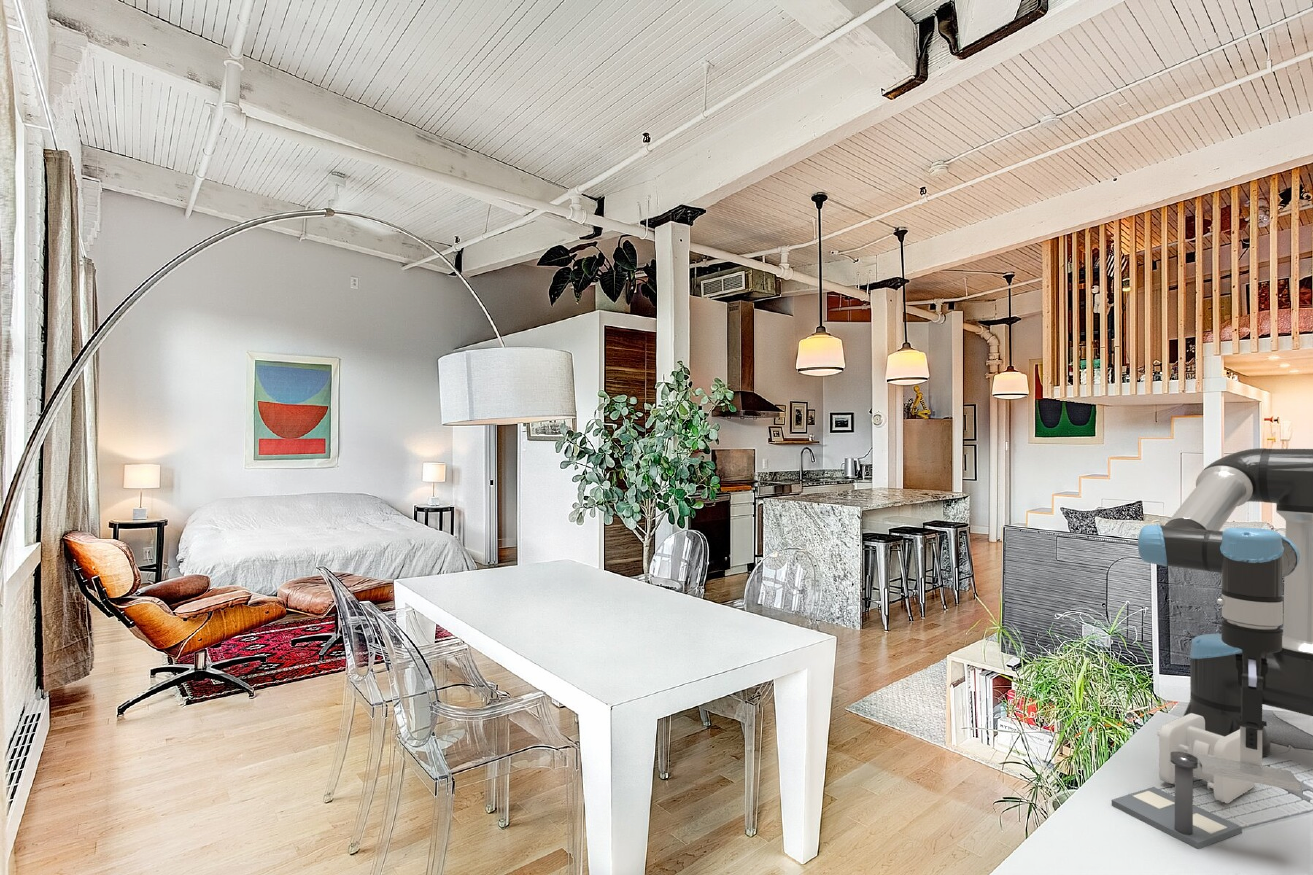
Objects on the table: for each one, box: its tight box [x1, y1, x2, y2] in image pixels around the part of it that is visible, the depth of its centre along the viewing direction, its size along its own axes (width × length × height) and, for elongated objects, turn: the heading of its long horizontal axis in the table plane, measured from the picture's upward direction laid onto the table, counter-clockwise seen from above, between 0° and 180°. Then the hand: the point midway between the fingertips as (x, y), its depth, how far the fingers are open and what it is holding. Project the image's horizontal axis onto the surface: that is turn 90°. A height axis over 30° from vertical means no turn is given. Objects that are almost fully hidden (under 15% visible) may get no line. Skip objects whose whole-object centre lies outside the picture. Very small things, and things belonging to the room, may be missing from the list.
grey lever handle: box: [1170, 751, 1302, 792], centre depth 110 cm, size 16×5×1 cm, turn 61°
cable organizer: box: [1157, 713, 1256, 804], centre depth 129 cm, size 15×11×12 cm
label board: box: [1111, 765, 1243, 850], centre depth 118 cm, size 12×14×12 cm
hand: (1250, 765), depth 111 cm, fingers closed
